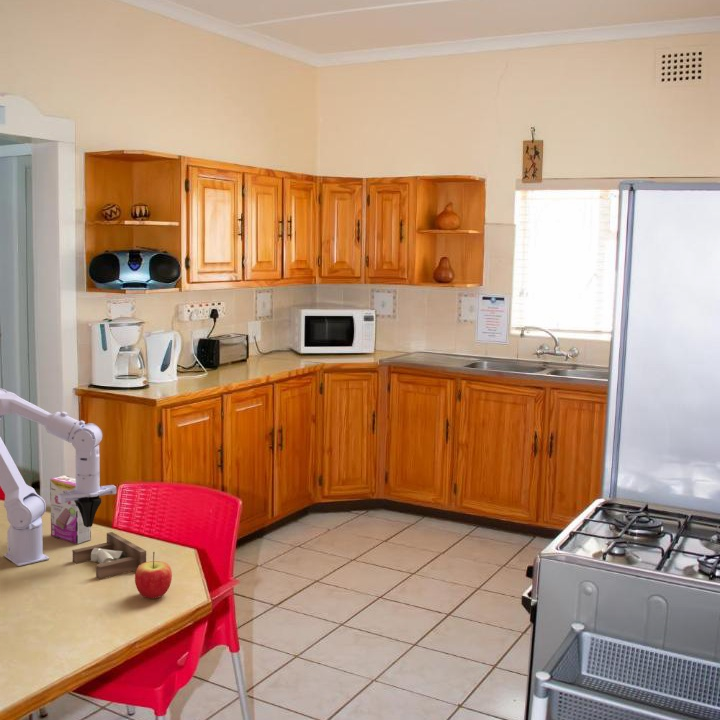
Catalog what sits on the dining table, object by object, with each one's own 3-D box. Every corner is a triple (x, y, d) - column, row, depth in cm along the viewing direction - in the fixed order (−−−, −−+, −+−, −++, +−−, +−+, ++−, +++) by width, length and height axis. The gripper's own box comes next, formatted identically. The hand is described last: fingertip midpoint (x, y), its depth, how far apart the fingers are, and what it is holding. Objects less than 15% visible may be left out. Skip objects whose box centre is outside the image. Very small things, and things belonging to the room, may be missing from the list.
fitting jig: (70, 559, 217) (69, 540, 216) (112, 550, 224) (111, 531, 224) (102, 581, 204) (102, 561, 203) (146, 570, 211) (146, 550, 211)
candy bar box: (49, 536, 233) (48, 478, 231) (64, 532, 237) (64, 474, 235) (76, 545, 227) (76, 485, 225) (91, 540, 231) (91, 481, 229)
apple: (172, 588, 201) (172, 547, 200) (170, 602, 193) (171, 560, 191) (136, 589, 200) (136, 548, 198) (133, 604, 191) (133, 561, 190)
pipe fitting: (112, 574, 210) (126, 562, 216) (111, 559, 209) (125, 548, 215) (83, 570, 212) (98, 559, 218) (82, 555, 211) (97, 544, 217)
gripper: (66, 481, 205) (67, 535, 207) (122, 472, 215) (122, 524, 216) (54, 475, 210) (54, 528, 212) (108, 466, 220) (109, 517, 222)
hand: (87, 525), depth 214 cm, fingers closed
